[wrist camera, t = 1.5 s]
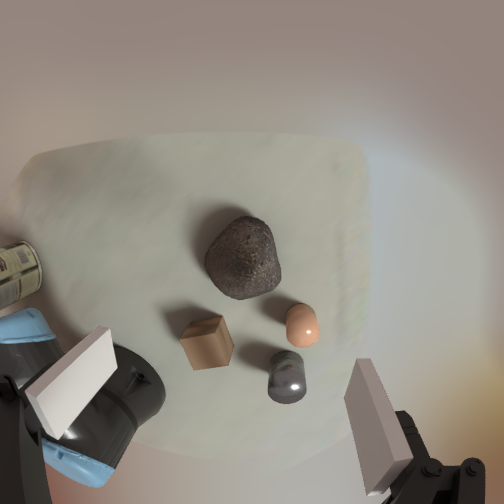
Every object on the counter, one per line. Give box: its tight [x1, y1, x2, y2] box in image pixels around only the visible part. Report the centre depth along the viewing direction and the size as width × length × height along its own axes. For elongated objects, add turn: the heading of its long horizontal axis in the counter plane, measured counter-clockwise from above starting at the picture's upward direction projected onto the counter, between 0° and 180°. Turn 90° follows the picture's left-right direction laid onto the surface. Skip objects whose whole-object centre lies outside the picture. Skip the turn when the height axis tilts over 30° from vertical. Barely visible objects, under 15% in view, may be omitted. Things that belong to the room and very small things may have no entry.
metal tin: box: [268, 351, 306, 404], centre depth 35 cm, size 5×5×6 cm
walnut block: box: [179, 316, 234, 370], centre depth 36 cm, size 5×5×5 cm
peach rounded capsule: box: [286, 304, 320, 348], centre depth 34 cm, size 4×4×4 cm
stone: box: [205, 216, 281, 300], centre depth 33 cm, size 10×8×10 cm
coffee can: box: [0, 241, 42, 310], centre depth 33 cm, size 10×10×14 cm
